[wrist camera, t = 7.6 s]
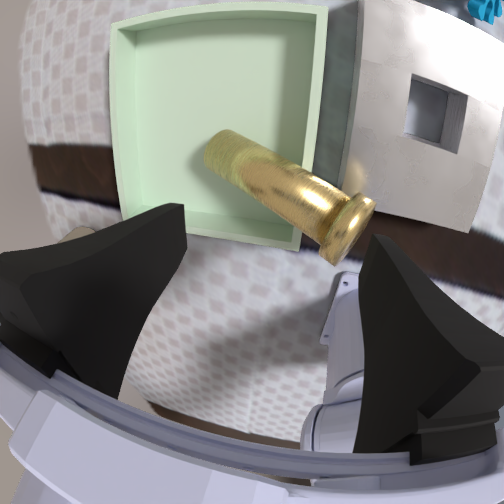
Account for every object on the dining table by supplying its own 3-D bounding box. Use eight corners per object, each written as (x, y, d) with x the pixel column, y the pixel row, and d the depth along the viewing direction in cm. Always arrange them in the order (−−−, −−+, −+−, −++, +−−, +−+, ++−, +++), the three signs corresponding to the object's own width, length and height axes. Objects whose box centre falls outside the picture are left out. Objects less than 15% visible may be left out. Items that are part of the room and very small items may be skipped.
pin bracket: (453, 214, 18) (468, 233, 15) (336, 186, 19) (339, 203, 17) (485, 48, 10) (507, 46, 7) (358, 0, 11) (364, -14, 9)
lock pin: (249, 125, 18) (381, 199, 14) (230, 175, 20) (347, 255, 16) (209, 118, 15) (367, 206, 11) (189, 178, 17) (324, 276, 13)
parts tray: (301, 230, 22) (298, 251, 19) (141, 207, 24) (123, 223, 21) (326, 18, 13) (328, 6, 10) (134, 27, 15) (111, 23, 12)
